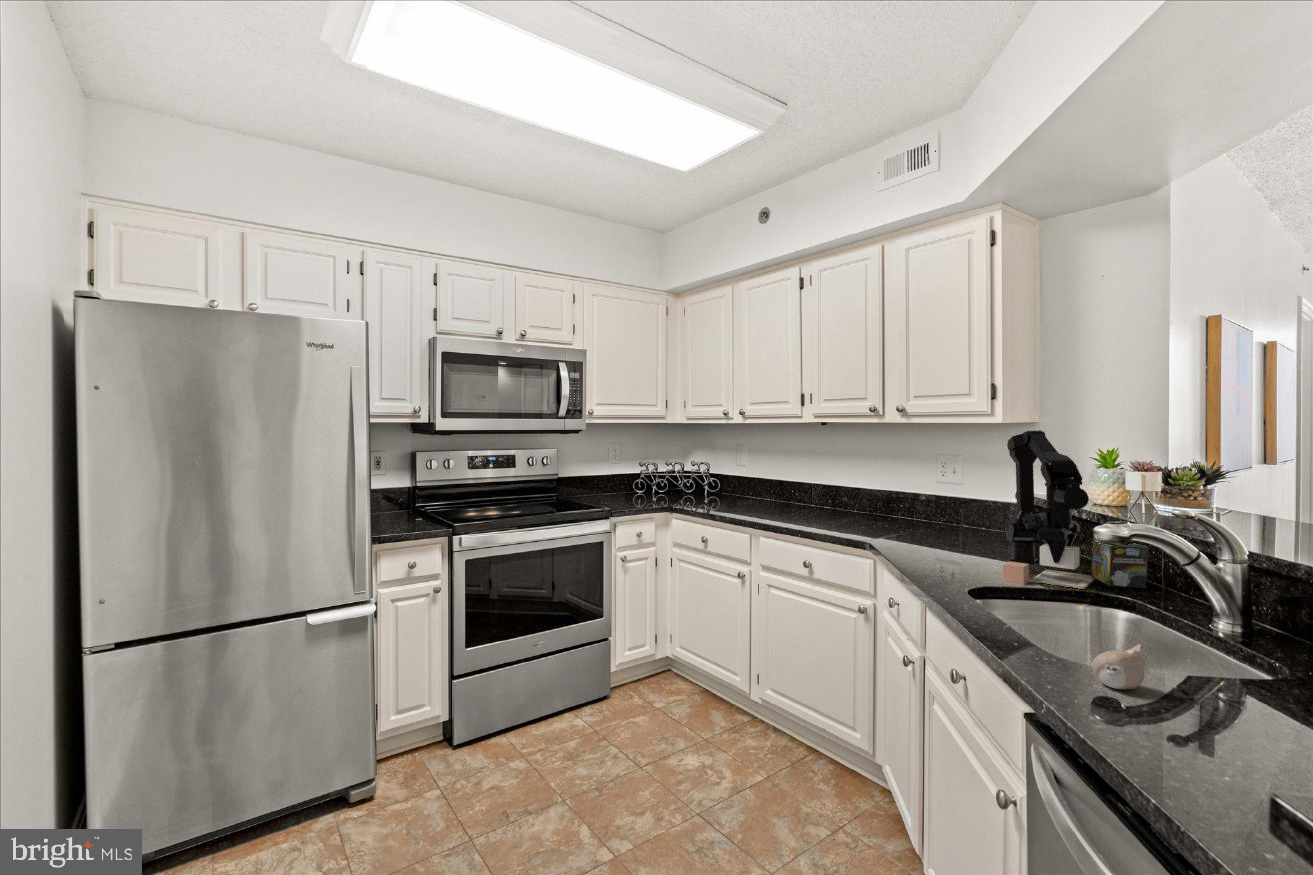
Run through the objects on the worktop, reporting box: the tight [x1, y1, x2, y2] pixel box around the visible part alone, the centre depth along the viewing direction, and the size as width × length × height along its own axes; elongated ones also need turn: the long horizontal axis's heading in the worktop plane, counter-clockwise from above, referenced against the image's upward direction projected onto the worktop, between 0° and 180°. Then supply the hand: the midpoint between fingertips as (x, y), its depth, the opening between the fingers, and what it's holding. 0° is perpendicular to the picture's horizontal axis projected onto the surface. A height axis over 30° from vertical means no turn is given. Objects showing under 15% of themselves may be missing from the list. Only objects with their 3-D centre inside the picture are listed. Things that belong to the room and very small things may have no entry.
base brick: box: [1039, 543, 1080, 570], centre depth 164 cm, size 8×6×5 cm
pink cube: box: [1002, 560, 1030, 586], centre depth 165 cm, size 5×5×5 cm
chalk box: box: [1090, 537, 1149, 589], centre depth 160 cm, size 9×9×15 cm
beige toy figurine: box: [1091, 643, 1146, 690], centre depth 99 cm, size 7×6×8 cm
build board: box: [1030, 569, 1096, 590], centre depth 165 cm, size 16×12×1 cm
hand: (1059, 560), depth 164 cm, fingers closed on base brick, 6 cm apart
